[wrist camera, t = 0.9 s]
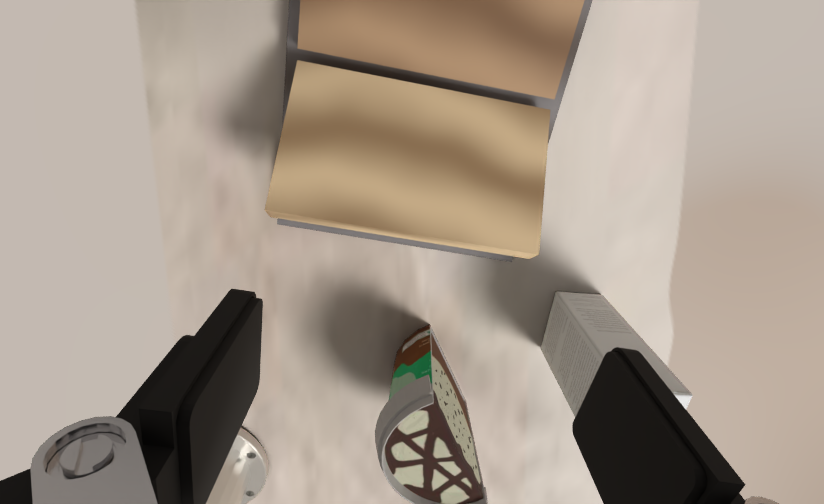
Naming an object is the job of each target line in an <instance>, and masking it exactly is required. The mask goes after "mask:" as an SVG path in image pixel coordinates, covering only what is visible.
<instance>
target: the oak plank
mask: <svg viewBox="0 0 824 504" xmlns="http://www.w3.org/2000/svg"><path fill="white" fill-rule="evenodd" d="M549 122H550V110H549V109H544V108H539V107H534V106H529V105H523V104H518V103H513V102H508V101H503V100H498V99H493V98H488V97H483V96H478V95H473V94H467V93H462V92H457V91H452V90H447V89H442V88H437V87H432V86H427V85H422V84H416V83H411V82H406V81H401V80H396V79H391V78H386V77H381V76H376V75H371V74H365V73H360V72H355V71H350V70H345V69H340V68H335V67H330V66H325V65H320V64H315V63H309V62H304V61H299V60H297V64H296V68H295V73H294V78H293V82H292V87H291V91H290V96H289V101H288V105H287V110H286V114H285V119H284V124H283V128H282V133H281V137H280V142H279V147H278V151H277V156H276V160H275V165H274V170H273V174H272V179H271V183H270V188H269V193H268V197H267V202H266V206H265V211H266V212H267V213H268V215H269V216H270V217H273V218H280V219H286V220H292V221H298V222H304V223H310V224H317V225H323V226H329V227H335V228H341V229H347V230H354V231H360V232H366V233H372V234H378V235H385V236H391V237H397V238H403V239H409V240H415V241H422V242H428V243H434V244H440V245H446V246H452V247H459V248H465V249H471V250H477V251H483V252H489V253H496V254H502V255H508V256H514V257H520V258H527V259H530V258H532V257H535V256H537V255H539V249H540V236H541V223H542V211H543V198H544V185H545V173H546V160H547V147H548V135H549Z"/></svg>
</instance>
